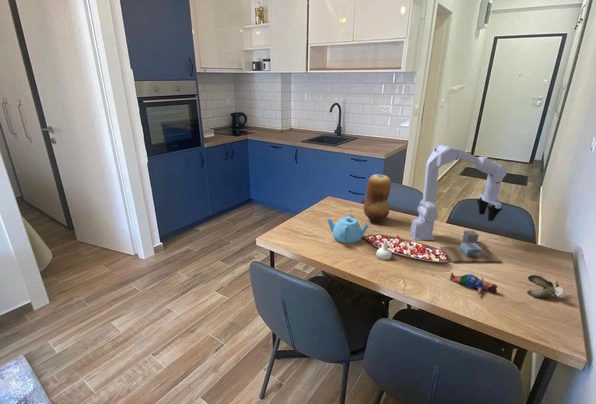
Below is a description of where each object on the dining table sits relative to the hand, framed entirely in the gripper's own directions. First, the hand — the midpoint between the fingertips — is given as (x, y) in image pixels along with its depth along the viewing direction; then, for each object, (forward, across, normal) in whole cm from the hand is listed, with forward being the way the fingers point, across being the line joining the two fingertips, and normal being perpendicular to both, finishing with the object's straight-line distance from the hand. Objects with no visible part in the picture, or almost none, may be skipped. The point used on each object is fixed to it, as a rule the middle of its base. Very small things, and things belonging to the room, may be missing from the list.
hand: (485, 217), depth 149 cm
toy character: (+11, -40, +25) cm, 48 cm away
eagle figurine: (+10, -45, +3) cm, 46 cm away
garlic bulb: (+10, -19, +52) cm, 56 cm away
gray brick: (+10, -6, +9) cm, 15 cm away
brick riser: (+10, -18, +15) cm, 26 cm away
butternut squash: (+10, +20, +47) cm, 52 cm away
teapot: (+10, -1, +65) cm, 66 cm away
